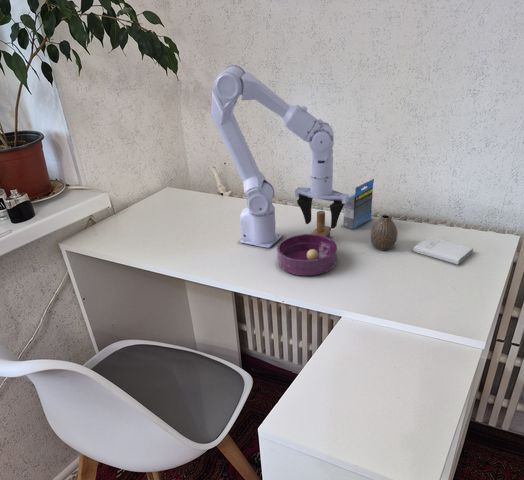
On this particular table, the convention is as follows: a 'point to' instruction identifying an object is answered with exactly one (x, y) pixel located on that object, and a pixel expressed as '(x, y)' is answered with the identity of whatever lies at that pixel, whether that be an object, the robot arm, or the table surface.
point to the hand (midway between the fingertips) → (321, 224)
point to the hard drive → (443, 250)
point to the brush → (321, 225)
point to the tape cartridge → (359, 206)
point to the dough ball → (312, 254)
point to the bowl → (295, 254)
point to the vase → (384, 233)
